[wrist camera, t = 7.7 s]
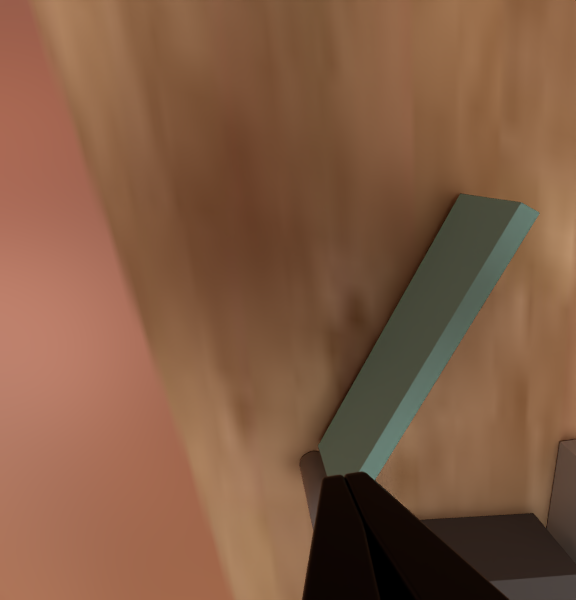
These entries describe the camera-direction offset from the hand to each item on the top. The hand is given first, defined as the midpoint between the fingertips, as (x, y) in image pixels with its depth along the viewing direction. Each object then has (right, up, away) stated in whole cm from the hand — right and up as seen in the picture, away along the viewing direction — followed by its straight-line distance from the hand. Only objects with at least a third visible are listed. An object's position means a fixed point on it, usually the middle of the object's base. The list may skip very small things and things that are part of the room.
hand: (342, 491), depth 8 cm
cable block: (+9, -11, +17) cm, 22 cm away
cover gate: (+4, +2, +11) cm, 12 cm away
